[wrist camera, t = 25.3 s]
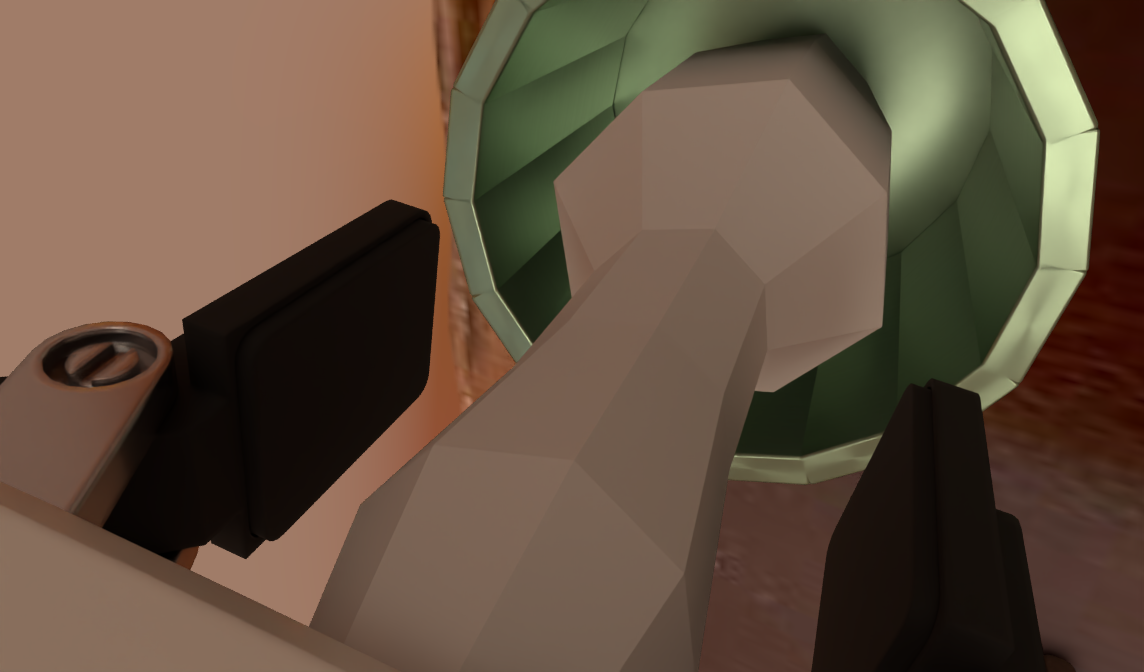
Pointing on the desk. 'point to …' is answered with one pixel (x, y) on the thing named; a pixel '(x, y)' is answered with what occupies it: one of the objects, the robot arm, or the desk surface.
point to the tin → (916, 205)
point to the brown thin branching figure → (1057, 664)
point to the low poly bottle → (635, 379)
